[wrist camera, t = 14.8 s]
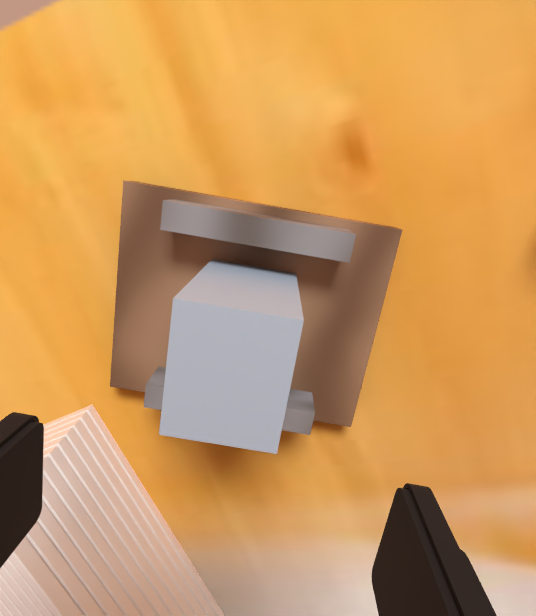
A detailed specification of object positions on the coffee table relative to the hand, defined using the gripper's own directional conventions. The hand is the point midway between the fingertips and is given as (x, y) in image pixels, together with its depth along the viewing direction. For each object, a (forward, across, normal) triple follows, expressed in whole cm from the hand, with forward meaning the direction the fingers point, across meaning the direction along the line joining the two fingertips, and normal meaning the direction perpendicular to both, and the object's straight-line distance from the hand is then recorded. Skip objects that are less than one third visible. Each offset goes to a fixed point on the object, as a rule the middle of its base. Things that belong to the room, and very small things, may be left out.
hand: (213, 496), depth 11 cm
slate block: (+15, +1, 0) cm, 15 cm away
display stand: (+16, +1, 0) cm, 17 cm away
